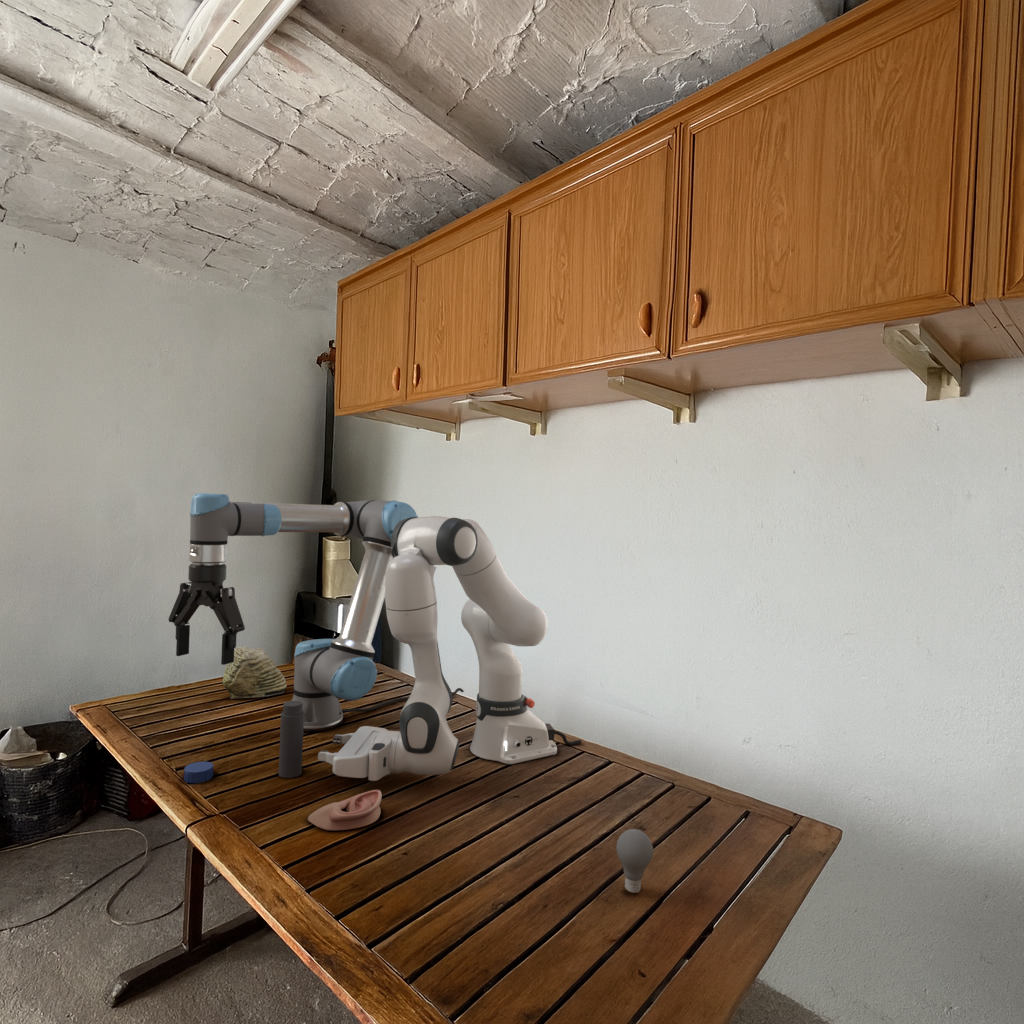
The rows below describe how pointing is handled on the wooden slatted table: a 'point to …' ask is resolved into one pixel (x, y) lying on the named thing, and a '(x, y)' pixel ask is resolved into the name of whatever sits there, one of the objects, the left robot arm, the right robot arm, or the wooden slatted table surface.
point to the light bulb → (634, 857)
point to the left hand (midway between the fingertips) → (204, 659)
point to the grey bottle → (291, 739)
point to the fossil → (253, 675)
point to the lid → (198, 772)
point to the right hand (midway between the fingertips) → (326, 747)
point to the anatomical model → (349, 812)
